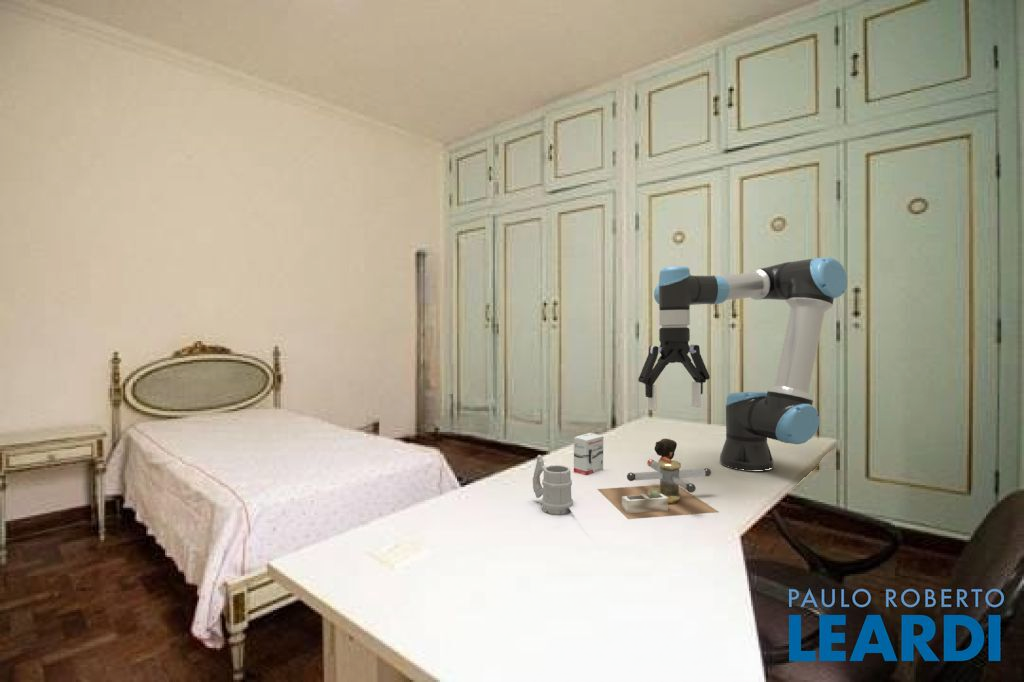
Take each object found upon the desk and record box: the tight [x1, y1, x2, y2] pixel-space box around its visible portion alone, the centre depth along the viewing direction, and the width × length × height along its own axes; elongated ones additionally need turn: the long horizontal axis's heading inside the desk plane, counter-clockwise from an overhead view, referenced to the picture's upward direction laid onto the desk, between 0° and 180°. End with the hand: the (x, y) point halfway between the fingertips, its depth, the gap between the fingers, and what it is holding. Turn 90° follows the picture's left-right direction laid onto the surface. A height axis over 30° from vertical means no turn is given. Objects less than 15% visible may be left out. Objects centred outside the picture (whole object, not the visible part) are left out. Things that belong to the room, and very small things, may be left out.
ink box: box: [573, 432, 604, 476], centre depth 143 cm, size 8×5×12 cm, turn 134°
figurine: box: [654, 438, 678, 462], centre depth 137 cm, size 6×6×12 cm
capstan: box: [626, 456, 712, 503], centre depth 119 cm, size 22×22×9 cm
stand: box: [597, 484, 720, 520], centre depth 119 cm, size 22×20×6 cm
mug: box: [532, 454, 574, 516], centre depth 118 cm, size 8×12×12 cm, turn 43°
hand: (674, 408), depth 127 cm, fingers open, 13 cm apart
